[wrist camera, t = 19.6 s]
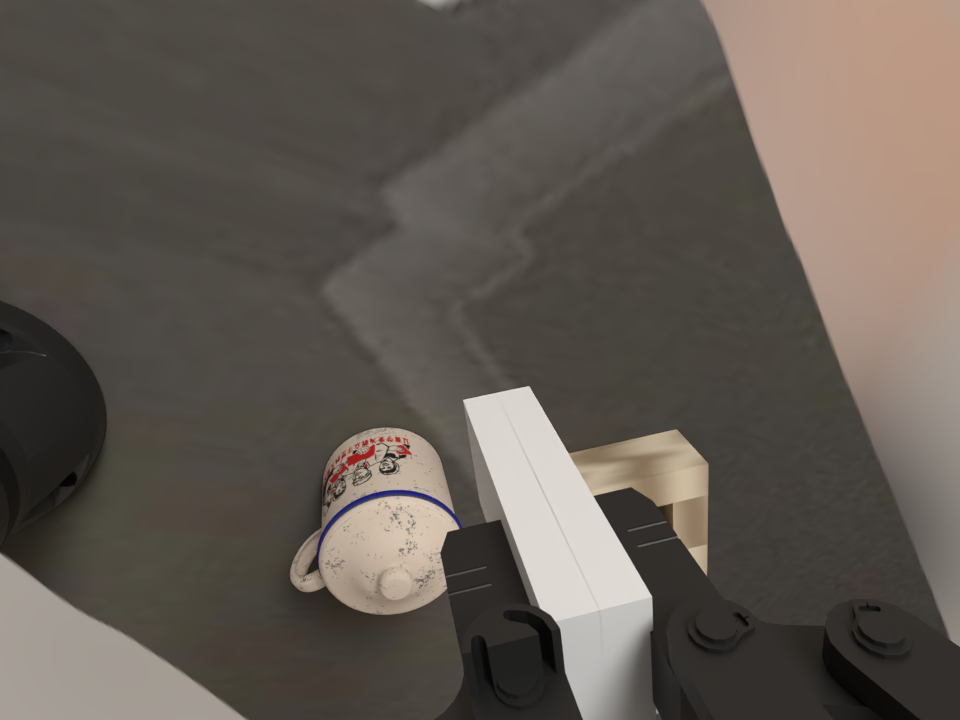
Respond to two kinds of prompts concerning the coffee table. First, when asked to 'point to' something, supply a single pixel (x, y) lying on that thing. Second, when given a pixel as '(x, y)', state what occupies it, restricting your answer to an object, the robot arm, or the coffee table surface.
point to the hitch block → (656, 481)
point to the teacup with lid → (380, 525)
